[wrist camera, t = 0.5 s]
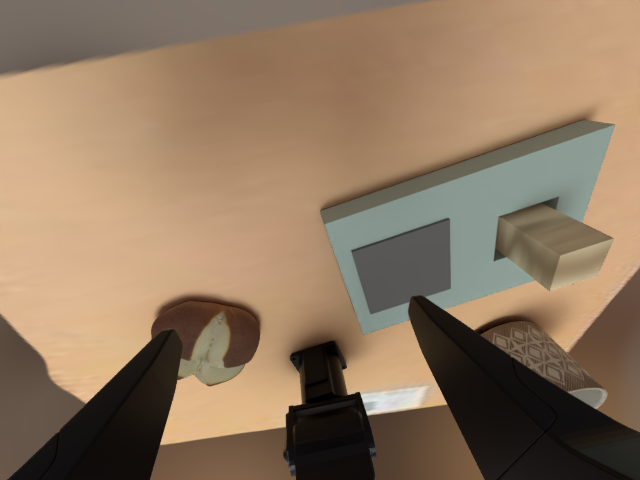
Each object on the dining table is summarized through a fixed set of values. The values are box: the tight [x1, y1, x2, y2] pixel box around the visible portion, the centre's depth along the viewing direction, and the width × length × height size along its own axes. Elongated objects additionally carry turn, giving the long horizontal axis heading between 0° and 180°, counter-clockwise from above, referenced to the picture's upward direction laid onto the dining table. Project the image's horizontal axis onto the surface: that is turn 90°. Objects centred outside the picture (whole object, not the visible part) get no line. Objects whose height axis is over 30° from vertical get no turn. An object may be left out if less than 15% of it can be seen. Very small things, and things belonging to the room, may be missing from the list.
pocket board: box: [320, 120, 615, 335], centre depth 26 cm, size 16×24×3 cm, turn 107°
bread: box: [151, 301, 260, 386], centre depth 28 cm, size 11×11×5 cm
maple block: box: [495, 203, 614, 291], centre depth 23 cm, size 4×4×8 cm
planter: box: [481, 321, 607, 409], centre depth 36 cm, size 13×13×10 cm
